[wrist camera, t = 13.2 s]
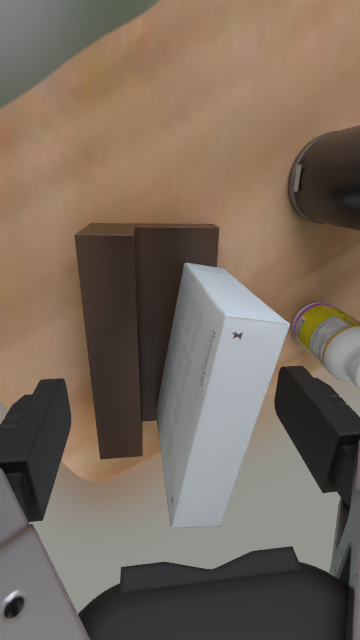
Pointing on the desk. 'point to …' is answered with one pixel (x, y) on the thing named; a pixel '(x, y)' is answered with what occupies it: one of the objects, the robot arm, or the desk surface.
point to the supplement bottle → (330, 339)
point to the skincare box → (212, 390)
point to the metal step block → (133, 317)
